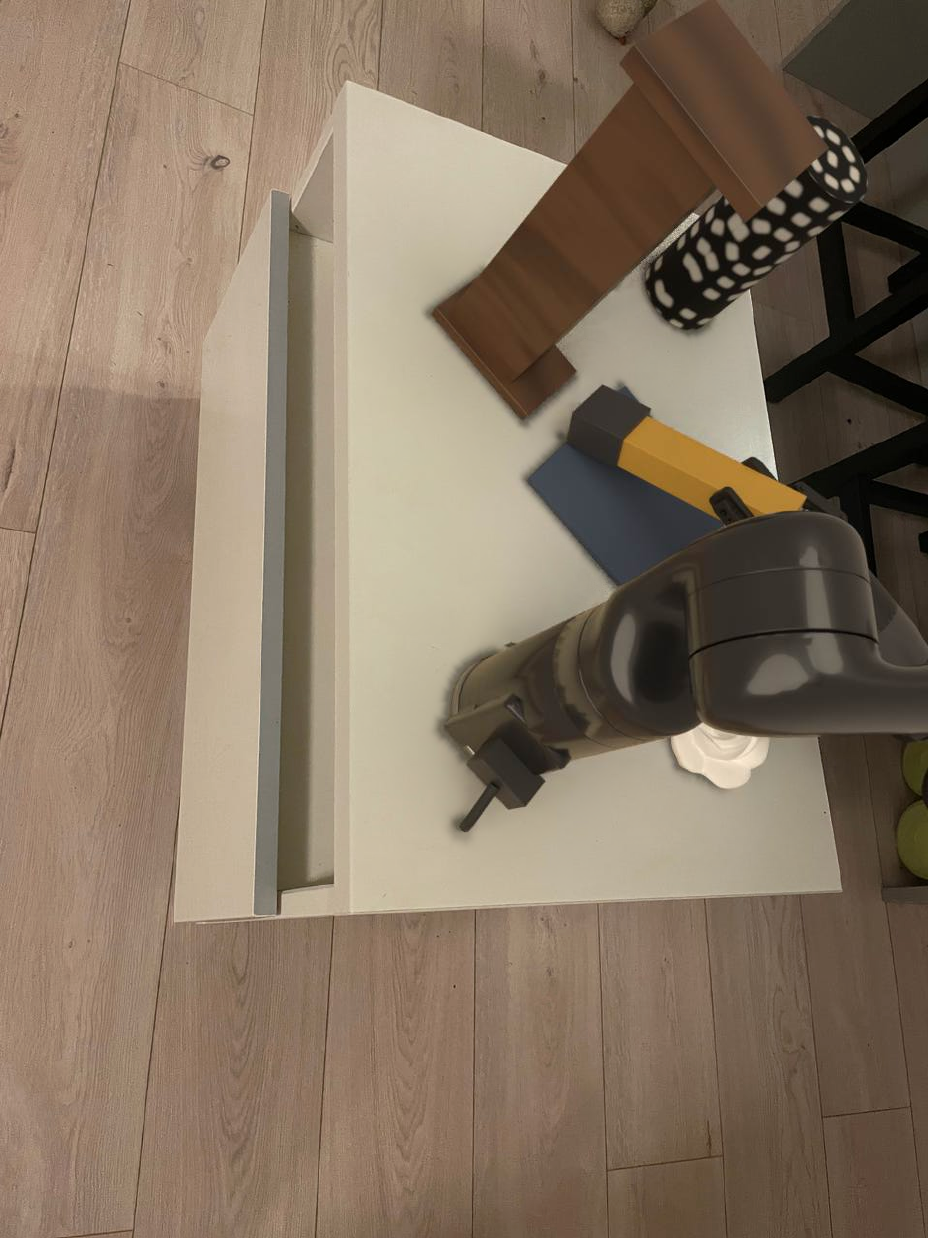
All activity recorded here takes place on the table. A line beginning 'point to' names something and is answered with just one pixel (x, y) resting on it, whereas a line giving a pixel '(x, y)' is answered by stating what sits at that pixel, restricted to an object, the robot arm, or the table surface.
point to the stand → (631, 196)
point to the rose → (720, 754)
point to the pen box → (669, 456)
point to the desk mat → (618, 512)
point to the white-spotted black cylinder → (754, 236)
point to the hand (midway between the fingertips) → (731, 478)
